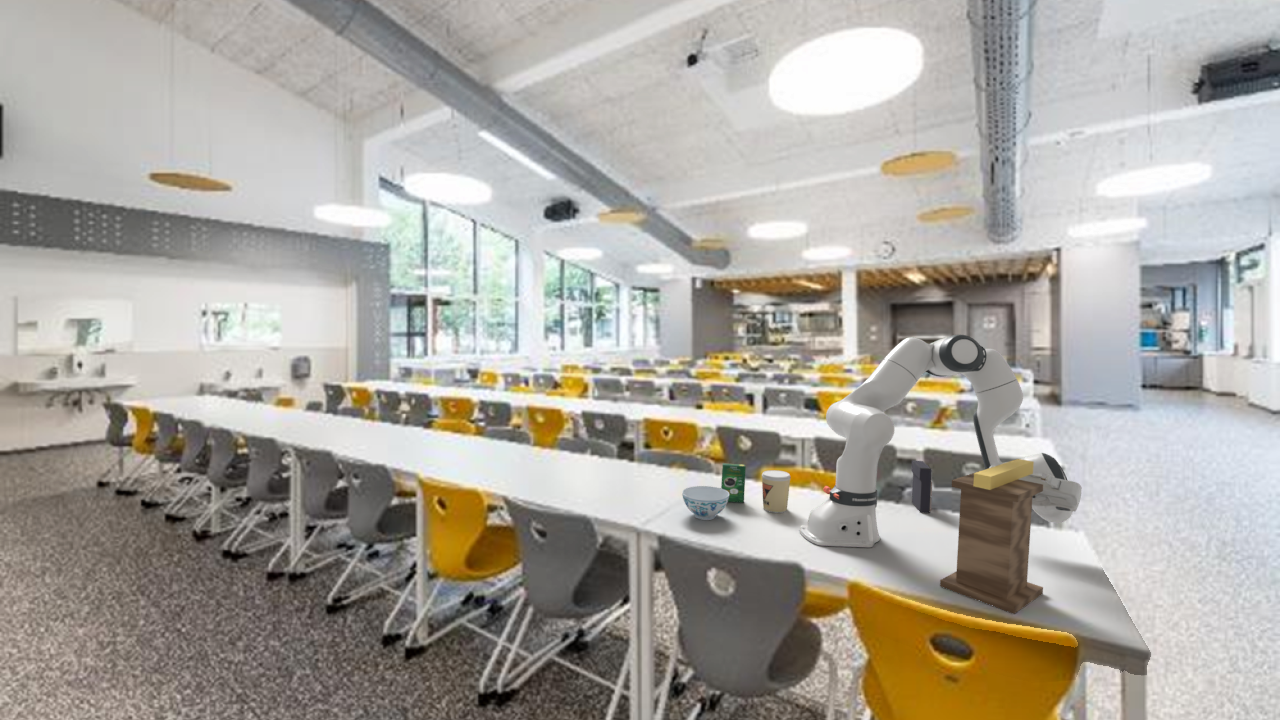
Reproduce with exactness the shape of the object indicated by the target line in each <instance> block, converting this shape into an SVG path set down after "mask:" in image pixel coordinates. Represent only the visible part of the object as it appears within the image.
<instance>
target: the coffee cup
mask: <svg viewBox="0 0 1280 720" xmlns="http://www.w3.org/2000/svg"><path fill="white" fill-rule="evenodd" d="M790 481H791V475H790V473H789V472H787V471H783V470H774V469H773V470H772V469H771V470H765V471H763V472H762V474H761V482H762V483H761V484H762V487H761V488H762V507H763V510H765V511H766V512H769V513H774V514H775V513H776V514H777V513H778V514H779V513H786V512H787V511H788V506H789V505H788V504H789V493H790V484H791V483H790Z"/></svg>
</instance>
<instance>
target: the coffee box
mask: <svg viewBox="0 0 1280 720" xmlns="http://www.w3.org/2000/svg"><path fill="white" fill-rule="evenodd" d="M746 470H747V467H746V464H741V463H740V464H739V463H722V468H721V486H720V488H721V489H724V490H726V491H728V492H729V499H728V502H727V503H739V504H742V503H745V488H746V487H745V485H746Z"/></svg>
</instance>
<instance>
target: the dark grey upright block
mask: <svg viewBox="0 0 1280 720" xmlns="http://www.w3.org/2000/svg"><path fill="white" fill-rule="evenodd" d="M910 469H911V473H912V487H911V488H912V490H911V504H912V505H913V507H915V509H917V511H918V510H919V511H920V512H919V511H918V512H919V513H922V512H924V513H925V514H929V513H930V512H932V495H933V481H932V480H933V469H932V468H931V467H930V466H929V465H928V464H927V463H926V462H925V461H923V460H911V468H910ZM924 513H923V514H924Z"/></svg>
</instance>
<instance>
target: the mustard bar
mask: <svg viewBox="0 0 1280 720" xmlns="http://www.w3.org/2000/svg"><path fill="white" fill-rule="evenodd" d="M1006 462H1007V463H1004V464H1001V465H998V466H995V467H991V468H988V469H985V468H984V469H983V470H979V472H978V471H975V472H976V473H975V472H973V473H974V485H973V486H975V487H979V488H984V489H988V490H991V489H994V488H996V487H999V486H1002V485H1004V484H1007V483H1010V482H1012V481H1015V480H1017V479H1020V478H1023V477H1025V476H1028V475H1030V474H1033V465H1034V462H1033V461H1028V460H1022V459H1021V458H1016V459H1012V460H1010V462H1009V461H1006Z"/></svg>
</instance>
